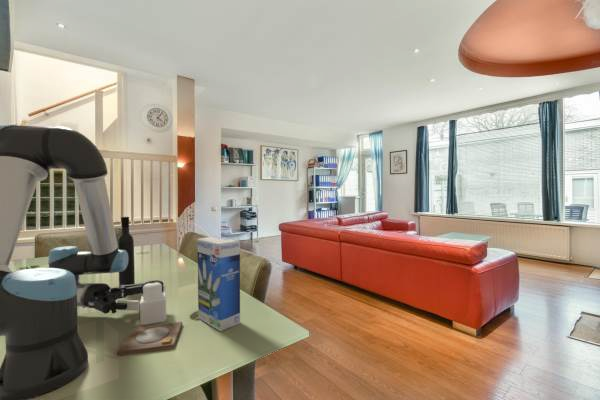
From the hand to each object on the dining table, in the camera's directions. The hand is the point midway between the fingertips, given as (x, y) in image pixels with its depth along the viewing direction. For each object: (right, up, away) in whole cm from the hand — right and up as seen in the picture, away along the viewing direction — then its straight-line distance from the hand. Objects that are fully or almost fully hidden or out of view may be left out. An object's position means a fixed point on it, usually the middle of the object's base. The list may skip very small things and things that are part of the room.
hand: (152, 296), depth 89 cm
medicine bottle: (+1, -7, -1) cm, 7 cm away
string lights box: (+22, -7, -2) cm, 23 cm away
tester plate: (+7, -7, -12) cm, 16 cm away
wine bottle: (-28, -6, +31) cm, 42 cm away
